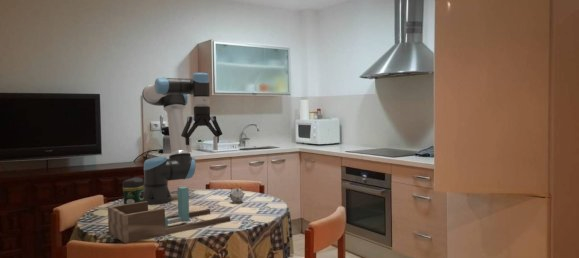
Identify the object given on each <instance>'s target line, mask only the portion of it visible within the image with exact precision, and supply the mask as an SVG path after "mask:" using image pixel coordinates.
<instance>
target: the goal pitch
mask: <svg viewBox="0 0 579 258" xmlns="http://www.w3.org/2000/svg"><path fill="white" fill-rule="evenodd" d="M206 215H211V209H209V208H207V209H201V210H196V211H189V219H190V218H195V217H200V216H206ZM165 216H166V209H165V208H164V207H163V208H157V209H150V210H149V204H148V202H147V201H144V202H138V203H131V204H124V203H123V204H118V205H112V206H107V220H108V222H107V224H108V233H110V234H111V235H112V236H113V237H115V238H116V239H118V240H119V241H121V242H122V243H123V244H126V243H130V242H131V243H132V242H137V241H140V240H142V241H143V240H147V239H150V238H157V237H161V236H166V235H171V234H175V233H179V232H185V231H188V230H195V229H199V227H200V228H203V227H208V226H213V225H218V224H223V223H227V222H231V216H230V215H227V216H222V217H216V218H211V219H206V220H201V221H196V222H191V223H186V224H181V225H177V226H171V227H168V228H165ZM166 217H168V219H171V218H176V217H178V214H175V215H173V214H172V215H167V216H166Z"/></svg>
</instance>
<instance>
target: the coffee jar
mask: <svg viewBox="0 0 579 258" xmlns="http://www.w3.org/2000/svg"><path fill="white" fill-rule="evenodd" d="M144 188H145V185H144V179H143V178H142V177H135V176H133V177H132V178H129V179H125V180H123V181H122V192H123V205H124V204H131V203H138V202H144Z"/></svg>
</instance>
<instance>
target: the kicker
mask: <svg viewBox="0 0 579 258" xmlns="http://www.w3.org/2000/svg"><path fill="white" fill-rule="evenodd" d="M189 198H190V197H189V187H187V186H178V187H177V215H178V217H176V218H171V219H168V217H167V216H166V215H165V228H169V225H172V224H177V223H185V222H189V221H190V218H189V212H190V202H189V201H190V199H189Z"/></svg>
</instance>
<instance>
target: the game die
mask: <svg viewBox="0 0 579 258" xmlns="http://www.w3.org/2000/svg"><path fill="white" fill-rule="evenodd" d="M241 188H242V187H241V186H240V187H239V188H233V187H231V188H230V189H231V190H230V194H229V195H228V196H227V197H228V198H230V200H231V201H232V202H231V203H232V204H234V203H243V199H244V195H246V193H245V192H244V191H243V190H242V189H241Z"/></svg>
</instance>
